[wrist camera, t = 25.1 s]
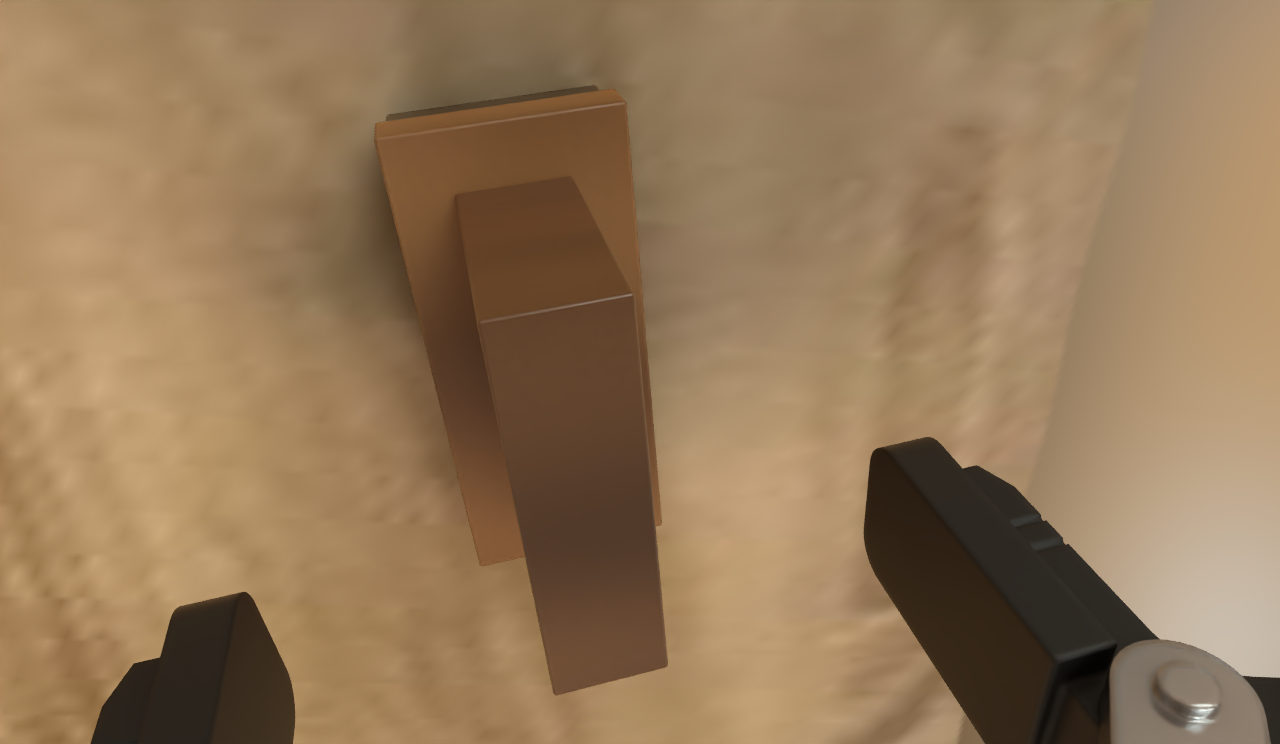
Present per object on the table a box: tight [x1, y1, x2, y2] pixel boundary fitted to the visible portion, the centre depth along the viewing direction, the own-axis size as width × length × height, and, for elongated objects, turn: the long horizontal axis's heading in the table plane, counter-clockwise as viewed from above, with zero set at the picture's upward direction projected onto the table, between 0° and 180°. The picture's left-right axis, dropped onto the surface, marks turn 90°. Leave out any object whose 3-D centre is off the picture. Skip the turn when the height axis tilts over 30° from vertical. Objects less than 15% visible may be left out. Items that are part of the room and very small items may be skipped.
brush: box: [374, 85, 668, 695], centre depth 17 cm, size 10×4×7 cm, turn 4°
